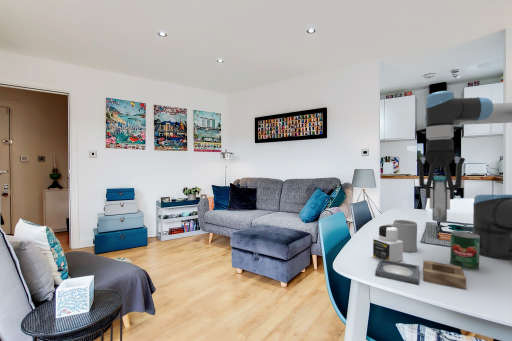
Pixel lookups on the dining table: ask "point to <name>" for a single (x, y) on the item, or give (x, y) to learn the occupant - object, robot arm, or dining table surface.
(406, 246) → the mug
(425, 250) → the dining table surface
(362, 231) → the dining table surface
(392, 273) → the dock cradle
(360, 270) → the dining table surface
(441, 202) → the pin
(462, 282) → the frame
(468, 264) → the canned tomato
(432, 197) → the robot arm
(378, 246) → the medicine bottle
